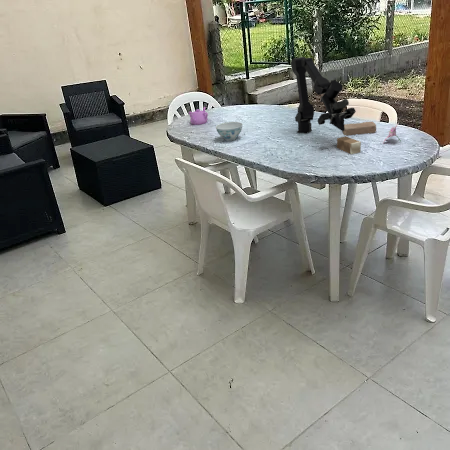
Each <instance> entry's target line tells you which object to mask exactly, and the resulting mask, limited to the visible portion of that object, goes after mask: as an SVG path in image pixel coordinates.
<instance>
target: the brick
mask: <svg viewBox="0 0 450 450" xmlns="http://www.w3.org/2000/svg"><path fill="white" fill-rule="evenodd" d="M344 128H345V130H344V131H341V132H343V133H342V134H343V136H345V135H346V136H357V135H356V134H358V135H367V134H368V133H369V134H374V133H376V132H377V123H375V122H373V121H364V122H356V123H355V122H354V123H344ZM369 134H368V135H369Z"/></svg>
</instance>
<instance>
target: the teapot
mask: <svg viewBox="0 0 450 450" xmlns="http://www.w3.org/2000/svg"><path fill="white" fill-rule="evenodd" d="M188 116H189V117H190V120H189V121H190V124H191V125H193V126H195V125H196V126H201V125H204V124H207V122H208V121H209V120H208V116H209V113H208V112H206V106H204V107H203V109H202V110H200V109H199V108H198V109H195V110H194V111H188Z"/></svg>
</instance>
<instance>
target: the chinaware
mask: <svg viewBox="0 0 450 450" xmlns="http://www.w3.org/2000/svg"><path fill="white" fill-rule="evenodd" d="M215 129H216V132H217V134H218V136H220V137H221V138H223V139H224V141H227V142H228V141H229V142H230V141H235V140H236V139H237V137H238V136H240V134H241V132H242V130H243V123H242V122H240V121H229V122H227V121H226V122H223V123H219V124H217V125H216V126H215Z"/></svg>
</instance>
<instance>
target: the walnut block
mask: <svg viewBox="0 0 450 450" xmlns="http://www.w3.org/2000/svg"><path fill="white" fill-rule="evenodd" d="M361 143H362V141H360V140H357V139H354V138H353V137H349V136H347V135H346V136H345V135H344V136H340V137H337V138H336V149H338V150H340V151H342V150H343V152H345V153H347V154H350V155H354V154H359V153H361V149H362V144H361Z"/></svg>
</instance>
